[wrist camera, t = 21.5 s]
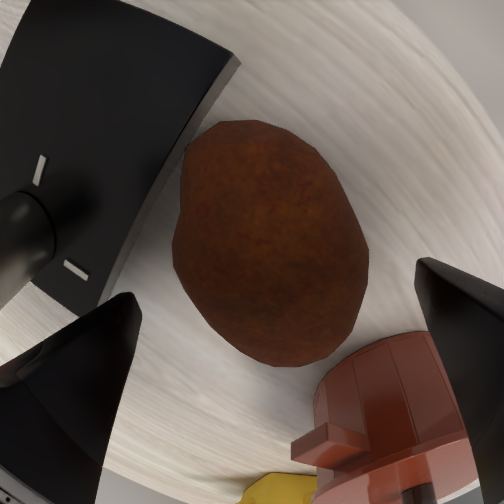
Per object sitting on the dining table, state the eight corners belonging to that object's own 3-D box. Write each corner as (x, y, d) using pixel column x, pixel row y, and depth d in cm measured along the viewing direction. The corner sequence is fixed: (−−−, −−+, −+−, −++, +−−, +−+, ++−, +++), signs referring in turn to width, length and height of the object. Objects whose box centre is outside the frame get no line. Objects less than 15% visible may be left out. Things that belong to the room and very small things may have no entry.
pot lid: (458, 389, 9) (487, 467, 6) (526, 429, 11) (542, 469, 8) (264, 495, 14) (260, 547, 11) (389, 509, 16) (394, 545, 13)
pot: (374, 276, 15) (424, 395, 8) (496, 374, 18) (529, 443, 11) (247, 394, 19) (235, 494, 13) (397, 446, 23) (409, 512, 16)
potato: (353, 114, 11) (420, 127, 6) (345, 305, 16) (370, 407, 10) (183, 122, 12) (105, 145, 6) (210, 309, 16) (181, 409, 10)
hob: (72, -11, 9) (41, -23, 6) (242, 62, 11) (233, 52, 8) (-9, 224, 15) (-35, 241, 13) (104, 309, 17) (84, 338, 15)
